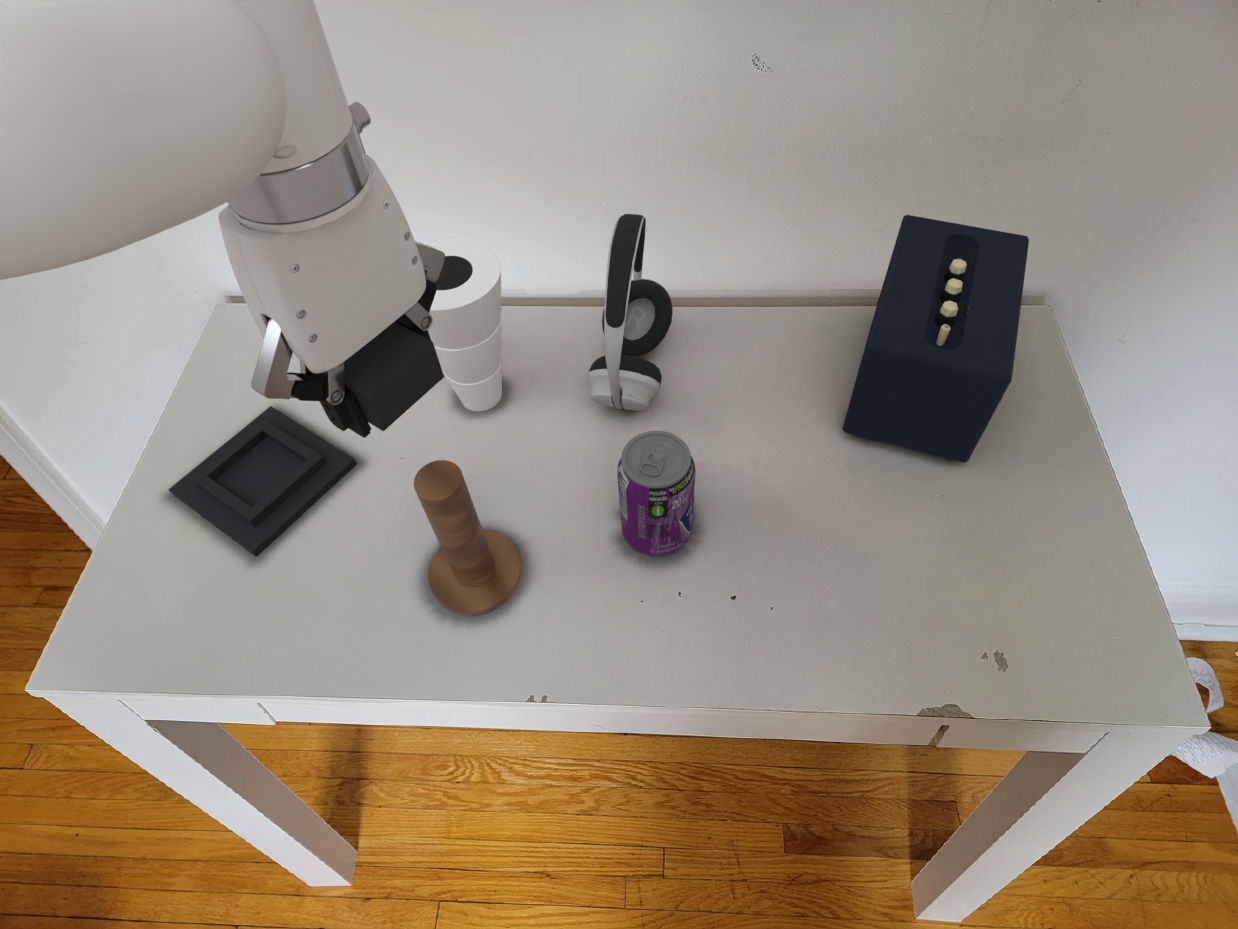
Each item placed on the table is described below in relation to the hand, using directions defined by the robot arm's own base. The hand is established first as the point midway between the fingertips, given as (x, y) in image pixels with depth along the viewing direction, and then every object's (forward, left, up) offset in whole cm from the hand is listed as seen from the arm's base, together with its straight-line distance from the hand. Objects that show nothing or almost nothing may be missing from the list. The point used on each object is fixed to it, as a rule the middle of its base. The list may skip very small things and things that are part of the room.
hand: (388, 395), depth 55 cm
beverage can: (+14, -13, -26) cm, 33 cm away
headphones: (+30, +1, -26) cm, 40 cm away
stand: (0, -1, -26) cm, 26 cm away
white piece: (+18, +14, -26) cm, 35 cm away
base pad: (-4, +26, -26) cm, 37 cm away
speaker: (+46, -27, -26) cm, 60 cm away
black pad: (0, 0, +1) cm, 1 cm away
